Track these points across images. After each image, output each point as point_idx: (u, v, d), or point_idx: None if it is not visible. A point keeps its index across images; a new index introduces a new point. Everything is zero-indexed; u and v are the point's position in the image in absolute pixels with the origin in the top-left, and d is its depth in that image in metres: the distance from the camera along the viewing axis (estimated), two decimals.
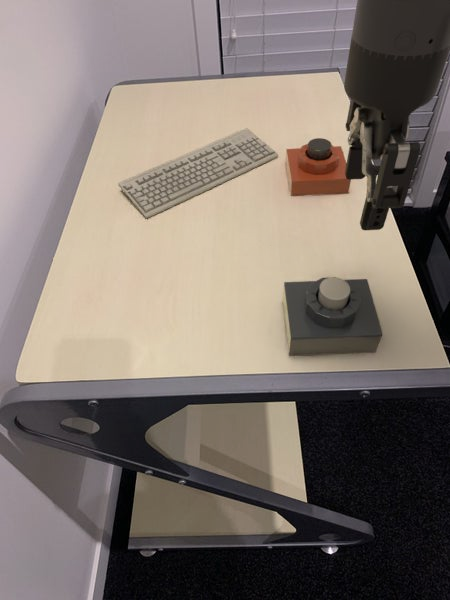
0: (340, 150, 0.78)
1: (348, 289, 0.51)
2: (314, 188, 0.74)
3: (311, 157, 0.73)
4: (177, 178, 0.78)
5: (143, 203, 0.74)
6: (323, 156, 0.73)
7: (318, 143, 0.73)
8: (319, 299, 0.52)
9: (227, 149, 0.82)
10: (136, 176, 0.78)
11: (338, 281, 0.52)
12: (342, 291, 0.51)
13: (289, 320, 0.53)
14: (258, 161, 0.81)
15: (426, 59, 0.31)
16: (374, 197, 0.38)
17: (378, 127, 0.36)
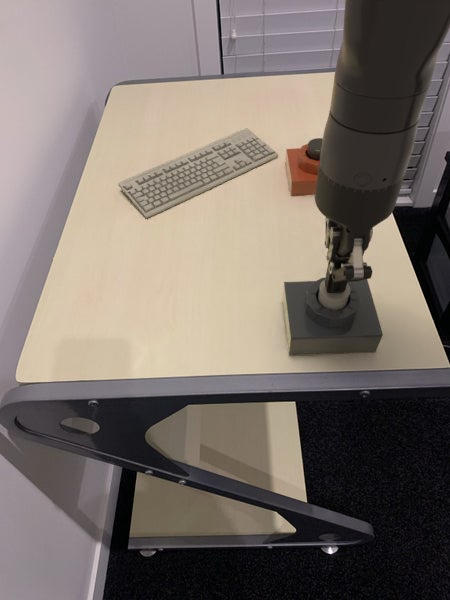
0: None
1: (348, 289, 0.51)
2: (314, 188, 0.74)
3: (311, 157, 0.73)
4: (177, 178, 0.78)
5: (143, 203, 0.74)
6: None
7: (318, 143, 0.73)
8: (319, 299, 0.52)
9: (227, 149, 0.82)
10: (136, 176, 0.78)
11: None
12: None
13: (289, 320, 0.53)
14: (258, 161, 0.81)
15: (381, 191, 0.36)
16: (334, 274, 0.46)
17: (344, 235, 0.41)
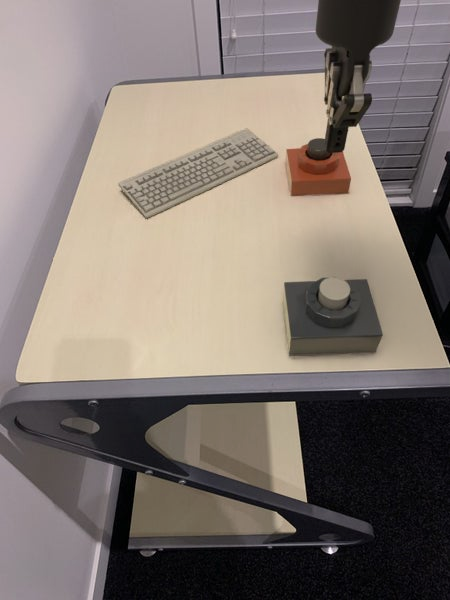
0: None
1: (348, 289, 0.51)
2: (314, 188, 0.74)
3: (311, 157, 0.73)
4: (177, 178, 0.78)
5: (143, 203, 0.74)
6: (323, 156, 0.73)
7: (318, 143, 0.73)
8: (319, 299, 0.52)
9: (227, 149, 0.82)
10: (136, 176, 0.78)
11: (338, 281, 0.52)
12: (342, 291, 0.51)
13: (289, 320, 0.53)
14: (258, 161, 0.81)
15: (381, 0, 0.37)
16: (334, 119, 0.47)
17: (345, 64, 0.42)
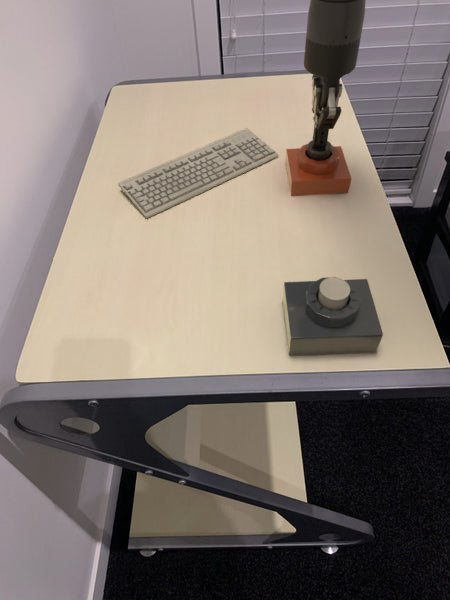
0: (340, 150, 0.78)
1: (348, 289, 0.51)
2: (314, 188, 0.74)
3: (311, 158, 0.73)
4: (177, 178, 0.78)
5: (143, 203, 0.74)
6: (323, 157, 0.73)
7: None
8: (319, 299, 0.52)
9: (227, 149, 0.82)
10: (136, 176, 0.78)
11: (338, 281, 0.52)
12: (342, 291, 0.51)
13: (289, 320, 0.53)
14: (258, 161, 0.81)
15: (344, 47, 0.58)
16: (317, 123, 0.67)
17: (323, 87, 0.63)
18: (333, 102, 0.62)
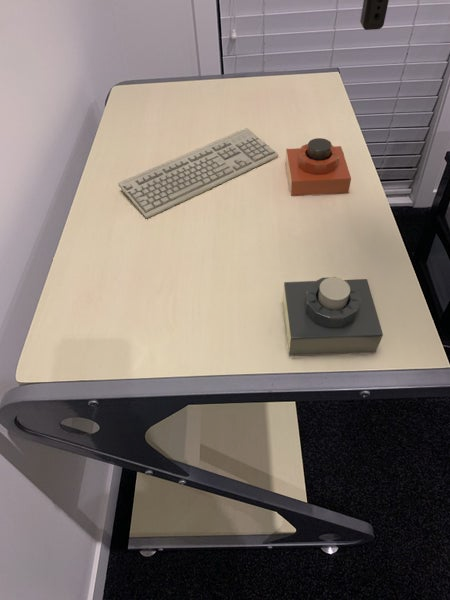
0: (340, 150, 0.78)
1: (348, 289, 0.51)
2: (314, 188, 0.74)
3: (311, 157, 0.73)
4: (177, 178, 0.78)
5: (143, 203, 0.74)
6: (323, 156, 0.73)
7: (318, 143, 0.73)
8: (319, 299, 0.52)
9: (227, 149, 0.82)
10: (136, 176, 0.78)
11: (338, 281, 0.52)
12: (342, 291, 0.51)
13: (289, 320, 0.53)
14: (258, 161, 0.81)
15: None
16: None
17: None
18: None
